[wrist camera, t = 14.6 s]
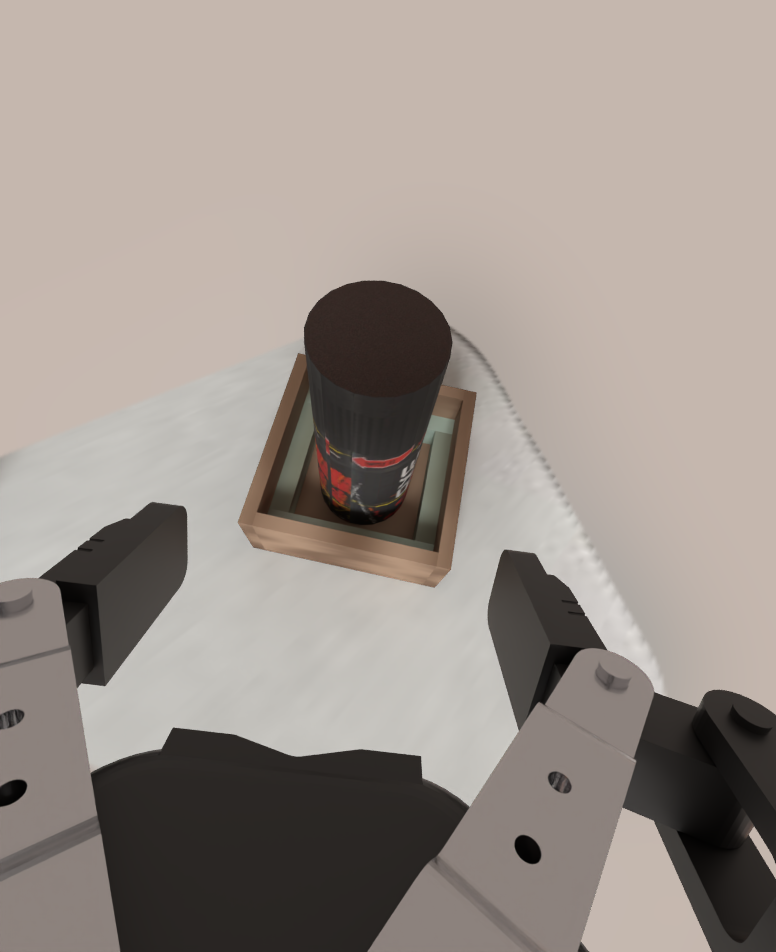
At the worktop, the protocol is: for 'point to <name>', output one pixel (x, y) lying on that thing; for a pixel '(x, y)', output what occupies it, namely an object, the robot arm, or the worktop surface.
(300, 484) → the holder box
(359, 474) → the deodorant
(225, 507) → the worktop surface
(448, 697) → the worktop surface
